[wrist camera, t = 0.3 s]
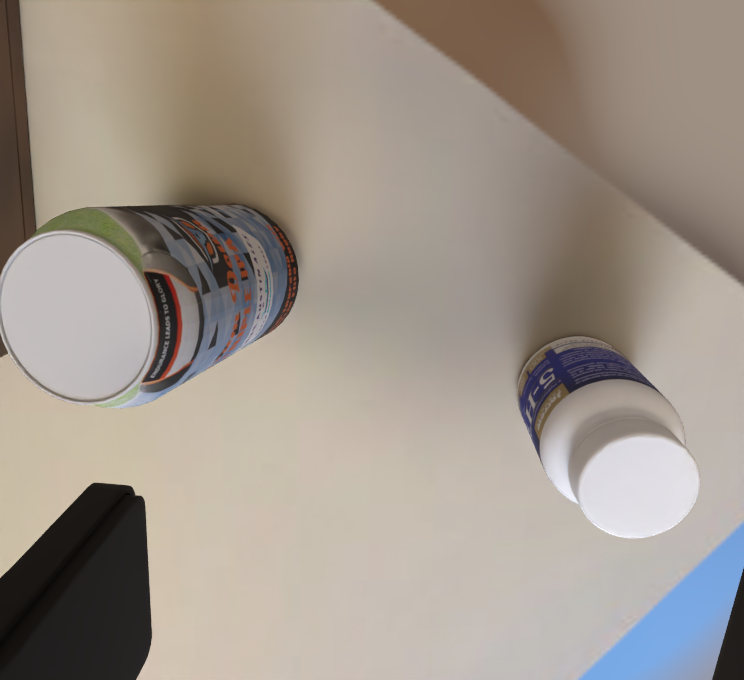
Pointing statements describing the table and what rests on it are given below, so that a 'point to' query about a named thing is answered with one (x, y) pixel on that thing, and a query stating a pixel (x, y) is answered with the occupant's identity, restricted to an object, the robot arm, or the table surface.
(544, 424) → the pill bottle
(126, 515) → the robot arm
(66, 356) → the beverage can
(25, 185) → the chest
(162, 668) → the table surface
